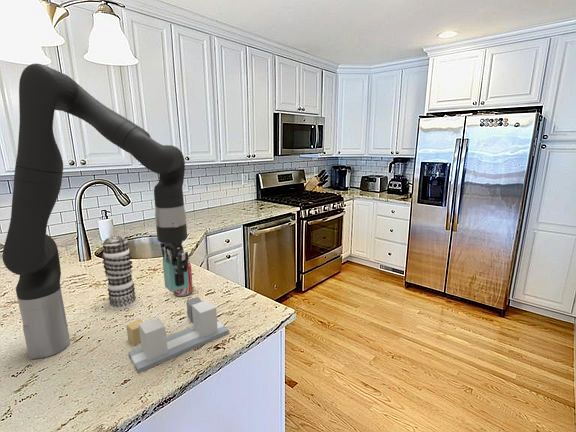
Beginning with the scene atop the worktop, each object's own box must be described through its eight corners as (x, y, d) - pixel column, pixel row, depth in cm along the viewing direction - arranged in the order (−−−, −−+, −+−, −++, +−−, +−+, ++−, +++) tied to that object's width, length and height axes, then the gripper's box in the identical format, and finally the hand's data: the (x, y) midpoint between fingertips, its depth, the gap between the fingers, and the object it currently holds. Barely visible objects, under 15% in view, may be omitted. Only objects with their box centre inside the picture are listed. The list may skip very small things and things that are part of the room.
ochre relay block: (134, 345, 87) (132, 330, 86) (128, 340, 90) (126, 325, 89) (148, 338, 90) (146, 323, 89) (141, 333, 93) (139, 319, 92)
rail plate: (138, 373, 76) (134, 341, 74) (128, 355, 83) (124, 325, 81) (229, 333, 93) (227, 305, 91) (215, 320, 100) (213, 295, 98)
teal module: (171, 292, 81) (168, 264, 79) (165, 286, 84) (162, 259, 83) (189, 286, 84) (187, 259, 83) (182, 281, 88) (180, 255, 86)
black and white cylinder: (133, 308, 107) (125, 241, 102) (104, 311, 105) (94, 242, 100) (140, 296, 116) (133, 233, 110) (113, 299, 114) (104, 235, 108)
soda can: (186, 287, 124) (184, 257, 121) (196, 292, 119) (194, 261, 116) (170, 293, 118) (167, 262, 116) (180, 299, 114) (177, 266, 111)
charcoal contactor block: (191, 323, 98) (190, 306, 97) (187, 316, 103) (186, 299, 101) (203, 319, 101) (202, 303, 99) (199, 312, 105) (198, 296, 103)
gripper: (147, 220, 83) (153, 278, 87) (166, 230, 73) (172, 295, 76) (175, 216, 88) (179, 271, 92) (196, 225, 77) (200, 287, 81)
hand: (176, 282), depth 84 cm, fingers closed on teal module, 4 cm apart
